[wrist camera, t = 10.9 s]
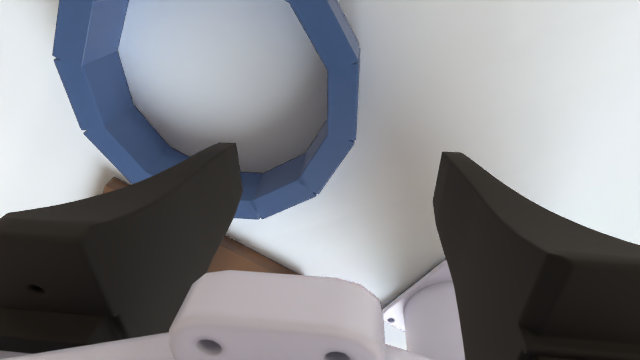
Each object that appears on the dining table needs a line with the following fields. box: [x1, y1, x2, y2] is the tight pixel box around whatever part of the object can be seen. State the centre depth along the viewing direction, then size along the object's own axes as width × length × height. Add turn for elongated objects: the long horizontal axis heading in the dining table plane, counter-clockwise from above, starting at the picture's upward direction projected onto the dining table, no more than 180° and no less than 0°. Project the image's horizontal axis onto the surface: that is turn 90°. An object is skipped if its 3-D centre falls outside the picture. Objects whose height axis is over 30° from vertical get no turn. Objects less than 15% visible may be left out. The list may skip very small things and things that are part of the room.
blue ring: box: [52, 0, 360, 219], centre depth 19 cm, size 14×14×3 cm
